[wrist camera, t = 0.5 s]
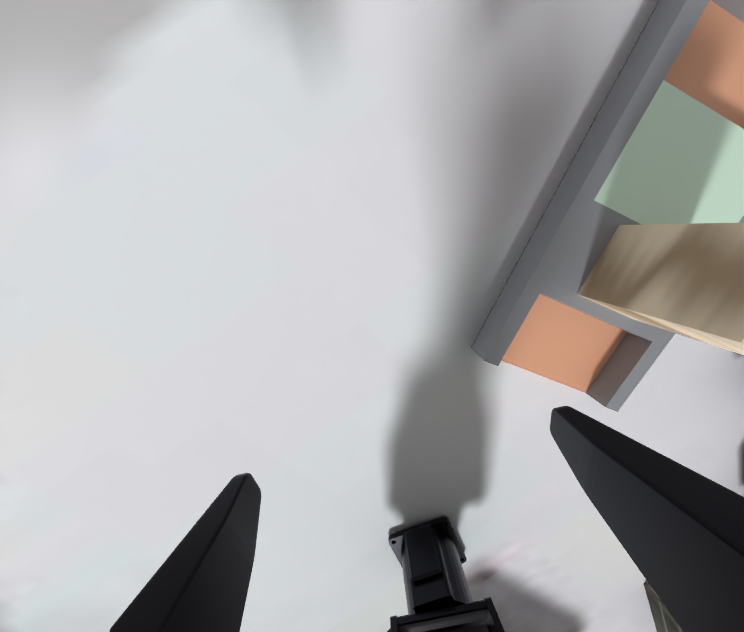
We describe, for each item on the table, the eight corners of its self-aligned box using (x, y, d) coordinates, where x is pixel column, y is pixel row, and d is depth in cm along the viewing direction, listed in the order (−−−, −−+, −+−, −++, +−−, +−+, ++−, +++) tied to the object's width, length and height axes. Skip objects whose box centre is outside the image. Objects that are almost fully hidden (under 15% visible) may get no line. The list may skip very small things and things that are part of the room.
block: (633, 319, 21) (827, 382, 12) (576, 294, 20) (740, 342, 11) (677, 254, 20) (928, 273, 11) (619, 225, 19) (839, 220, 10)
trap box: (593, 394, 25) (617, 411, 23) (471, 347, 24) (484, 360, 21) (830, 54, 19) (899, 28, 16) (685, -48, 17) (739, -94, 14)
